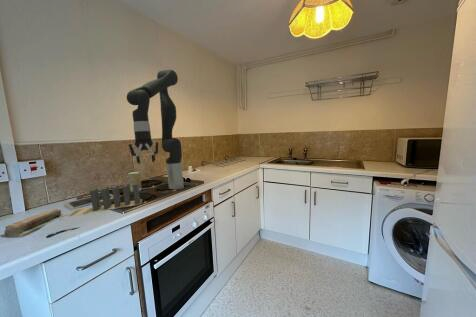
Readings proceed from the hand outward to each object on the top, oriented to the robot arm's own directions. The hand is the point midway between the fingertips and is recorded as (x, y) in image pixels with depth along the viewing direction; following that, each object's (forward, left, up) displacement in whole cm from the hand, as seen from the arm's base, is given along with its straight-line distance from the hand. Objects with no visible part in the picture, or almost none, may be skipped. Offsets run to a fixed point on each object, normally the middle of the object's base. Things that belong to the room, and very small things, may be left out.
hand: (146, 162), depth 100 cm
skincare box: (+11, -30, -22) cm, 38 cm away
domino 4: (+11, 0, -21) cm, 23 cm away
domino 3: (+16, 0, -21) cm, 26 cm away
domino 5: (+7, 0, -21) cm, 21 cm away
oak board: (+20, 0, -22) cm, 29 cm away
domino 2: (+20, 0, -21) cm, 29 cm away
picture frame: (+32, -17, -22) cm, 42 cm away
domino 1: (+25, 0, -20) cm, 32 cm away
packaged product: (+44, +6, -22) cm, 50 cm away
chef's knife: (+27, +17, -22) cm, 38 cm away
